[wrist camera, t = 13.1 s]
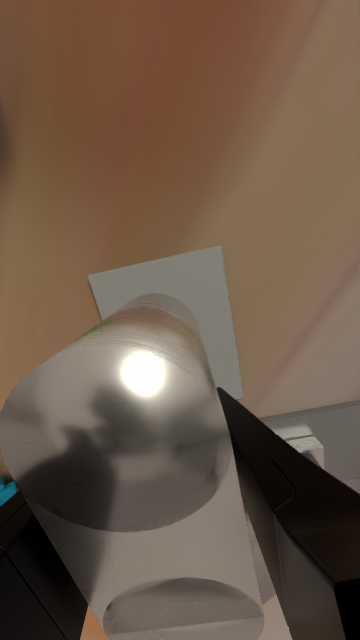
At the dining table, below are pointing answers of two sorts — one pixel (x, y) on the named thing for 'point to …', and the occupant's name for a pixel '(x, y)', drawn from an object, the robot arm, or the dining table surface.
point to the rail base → (326, 435)
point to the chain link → (138, 477)
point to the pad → (191, 289)
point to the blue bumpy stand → (6, 490)
